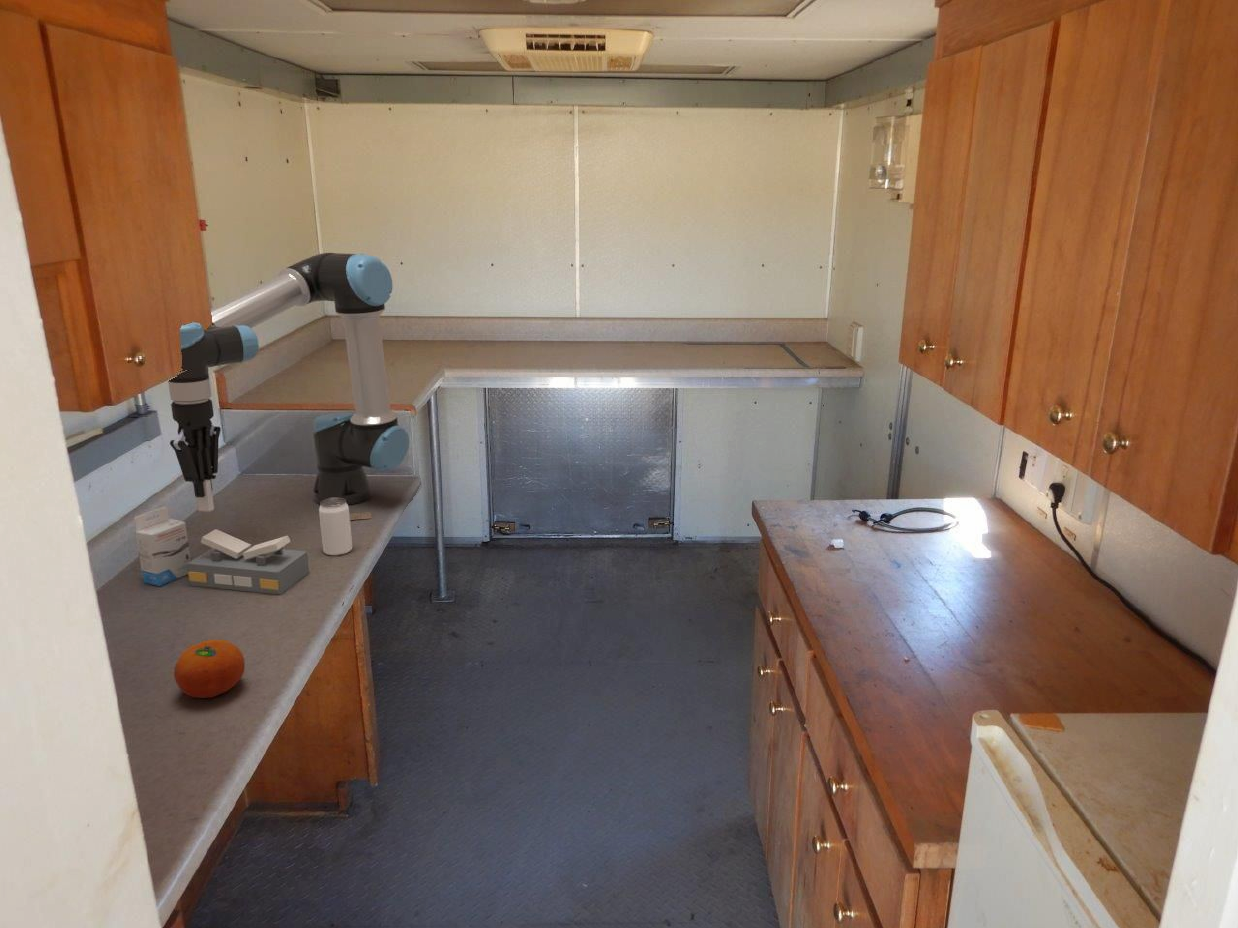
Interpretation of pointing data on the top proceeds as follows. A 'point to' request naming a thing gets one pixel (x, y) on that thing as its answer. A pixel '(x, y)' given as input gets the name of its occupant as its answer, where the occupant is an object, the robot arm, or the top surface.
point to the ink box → (162, 547)
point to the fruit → (209, 668)
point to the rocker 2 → (266, 548)
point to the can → (335, 526)
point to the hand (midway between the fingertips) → (206, 509)
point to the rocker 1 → (225, 543)
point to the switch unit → (249, 571)
